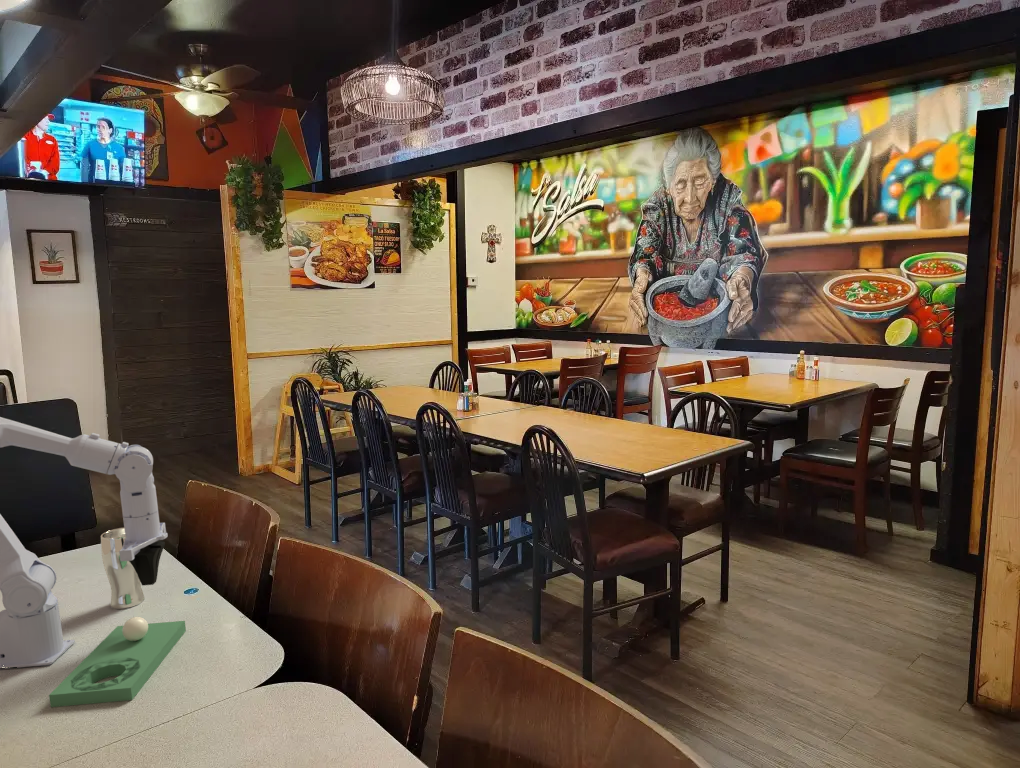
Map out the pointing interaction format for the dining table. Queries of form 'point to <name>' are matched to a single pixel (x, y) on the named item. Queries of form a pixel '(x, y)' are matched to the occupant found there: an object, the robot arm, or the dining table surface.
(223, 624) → the dining table surface
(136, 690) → the putting mat
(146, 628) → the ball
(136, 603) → the beer glass
